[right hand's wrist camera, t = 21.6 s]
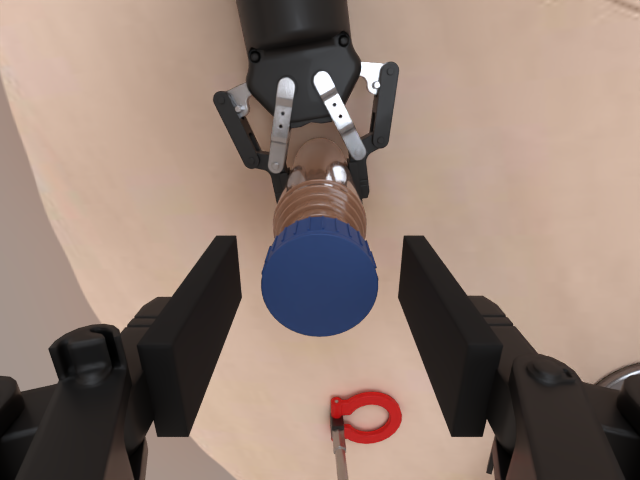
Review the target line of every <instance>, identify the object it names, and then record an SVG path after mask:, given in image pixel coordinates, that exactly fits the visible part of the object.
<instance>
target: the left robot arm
mask: <svg viewBox="0 0 640 480" xmlns="http://www.w3.org/2000/svg"><path fill="white" fill-rule="evenodd" d="M236 2H237V7H238V12H239V17H240V22H241V26H242V31H243V36H244V41H245V45H246V50H247V55H248V61H249V68H248V73H247V77H246V82H245V83H243V84H241V85H239V86H237V87H235V88H233V89H231V90H229V91H219V92H217V93H215V95H214V97H213V101H214V104H215V106H216V108H217V110H218V112H219V114H220V116H221V118H222V120H223V122H224V124H225V126H226V128H227V130H228V132H229V134H230V136H231V138H232V140H233V142H234V144H235V146H236V148H237V150H238V152H239V154H240V156H241V158H242V160H243V162H244V164H245V166H246V167H248V168H250V169H254V168H257V169H262V170H266V171H267V172H269V174H270V175H271V178H272V183H273V187H274V192H275V197H276V202H277V204H278V201H279V199H280V196H281V194H282V191H283V188H284V186H285V183H286V181H287V178H288V176H289V173H290V167H289V168H287V166H286V159H287V152H288V146H289V140H290V135H291V129H292V128H297V127H302V126H304V125H306V124H308V123H310V122H314V123H327V122H332V120H333V122H334V124H335V125H336V127H337V129H338V131H339V133H340V135H341V137H342V139H343V141H344V143H345V145H346V147H347V149H348V153H349V158H347V164H348V168H349V171H350V173H351V176H352V179H353V181H354V184H355V187H356V189H357V192H358V194H359V197H360V200H361V202H362V199H363V198H368V195H369V184H368V175H367V166H366V159H367V157H368V155H369V154H370V153H371V152H373V151H375V150H377V149H379V148H384V147H385V146H386V145H387V144H388V142H389V135H390V128H391V122H392V115H393V108H394V101H395V95H396V88H397V81H398V75H399V67H398V65H397V64H396V63H394V62H387V63H385V64H379V63H368V62H361V60H360V58H359V56H358V55H357V53H356V52H355V50H354V48H353V45H352V41H351V33H350V24H349V15H348V6H347V0H236ZM359 76H361V77H363V78H364V79H365V81H366V88H367V90H368V92H369V93H371V94H374V101H373V108H372V116H371V124H370V132H369V133H368V134H366V135H365V136H363V137H361V138H360V137H359V135H358V133H357V131H356V128H355V126H354V124H353V122H352V120H351V118H350V116H349V114H348V112H347V110H346V108H345V104H346V102H347V100H348V98H349V96H350V94H351V92H352V90H353V88H354V86H355V84H356V82H357V80H358V78H359ZM252 95H253V96H254V97H255V98H256V99H257V100H258V101H259V102H260V104H261V105H262V106H263V107H264V108H265V109H266V110H267V111H268V112H269V113H270V114H271V115H272V116H273V117H274V119H273V126H272V134H271V146H270V152H266V151H262V150H261V148H260V146H259V144H258V142H257V140H256V138H255V136H254V134H253V131H252V129H251V127H250V125H249V123H248V121H247V119H246V117H245V116H246V115H248V114H249V112H250V106H249V98H250V97H251V96H252Z"/></svg>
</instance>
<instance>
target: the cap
mask: <svg viewBox="0 0 640 480" xmlns="http://www.w3.org/2000/svg"><path fill="white" fill-rule="evenodd" d="M375 268H377V267H376V264H375V261H374V258H373V255H372V252H371V251H370V249H369V246H368V243H367V241H365V240H364V239H363V237H362V236H361V235H360V232H359V231H356V230H355V229H354V228H353V227H351V226H350V224H349V223H347V224H346V223H344V222H342V221H340V220H337V218H335V219H334V218H329V217H324V216H322V217H308V218H306V219H302V220H299V221H298V220H297V221H295V223H293V224H291V225H290V226H288V227H285V228H284V230H283V231H282V232H281V233H280V234H279V235H278V236H277V235H276V237H275V240H274V242H273V244H272V246H270V247H269V250H268V253H267V256H266V259H265V264H264V267H263V270H262V280H261V290H262V296H263V299H264V302H265V304H266V306H267V308H268V310H269V311H270V313H271V314H272V315H273V316H274V318H275V319H276V320H277V321H278V322H280V323H281V324H282V325H284V326H285V327H287V328H288V329H290V330H292V331H295V332H297V333H300V334H303V335H308V336H317V337H322V336H331V335H336V334H340V333H342V332H345V331H347V330H349V329H351V328H353V327H354V326H356V325H357V324H359V323H360V322H361V321H362V320H363V319H364V318H365V317H366V316H367V315H368V313H369V312H370V310H371V309H372V307H373V305H374V303H375V300H376V297H377V292H378V276H377V273H376V270H375Z"/></svg>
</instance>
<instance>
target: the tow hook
mask: <svg viewBox="0 0 640 480" xmlns="http://www.w3.org/2000/svg"><path fill="white" fill-rule="evenodd" d="M372 404H373V405H379V406H382V407H383V408H385V409H386V410H387V411H388V412H389V419H388V421H387V422H386V424H385V425H384V426H382V427H381V428H379V429H377V430H374V431H369V432H364V431H359V430H356V429H355V428H353V427H352V426H351V425H350V424H344V421H343V415H350V414H352V412H353V411H355V410H356V409H357V408H359V407H361V406H365V405H372ZM401 420H402V414H401V411H400V408H399V405H398V403H397V402H396V401H395V400H394V399H393V398H391V397H390V396H389V395H386V394H383V393H379V392H364V393H361V394H357V395H355V396H353V397H351V398H349V399H347V400H341V398H339V397H334V398H332V400H331V414H330V426H331V440H332V441H333V449H334V454H335V456H336V467H337V478H338V480H348V472H347V464H346V456H345V453H346V444H345V439H349V440H350V441H354V442H357V443H364V444H369V443H376V442H379V441H382V440H384V439H386V438H388V437H390V436H391V435H392V434H394V433H395V432H396V430H397V429H398V428H399V426H400V423H401Z"/></svg>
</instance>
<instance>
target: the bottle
mask: <svg viewBox="0 0 640 480" xmlns="http://www.w3.org/2000/svg"><path fill="white" fill-rule="evenodd" d="M322 216H324V217H329V218H334V219H335V218H337V220H340V221H342V222H344V223H346V224H347V223H349V224H350V226H351V227H353V228H354V229H355V230H356V231H359V232H360V235H361V236H362V237H363V239H364V240H365V237H366V214H365V211H364V208H363V205H362V202H361V200H360V197H359V194H358V192H357V189H356V187H355V184H354V181H353V179H352V176H351V173H350V171H349V168H348V166H347V163H346V160H345V158H344V155H343V153H342V150H341V149H340V147H339V146H338V145H337V144H336V143H334V142H333V141H331V140H329V139H326V138H314V139H311V140H309V141H307V142H306V143H304V144H303V145H302V146H301V147H300V149H299V150H298V152H297V155H296V157H295V160H294V163H293V165H292V168H291V170H290V173H289V176H288V178H287V181H286V183H285V186H284V188H283V191H282V194H281V196H280V199H279V201H278V204H277V207H276V209H275V213H274V218H273V232H274V238H275V237H276V235H277V236H278V235H279V234H280V233H281V232H282V231H283V230H284V228H285V227H288V226H290V225H291V224H293V223H295V221H297V220H298V221H299V220H302V219H306V218H308V217H322Z"/></svg>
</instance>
